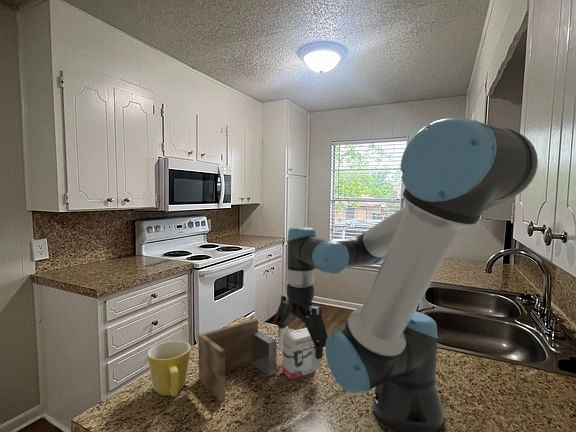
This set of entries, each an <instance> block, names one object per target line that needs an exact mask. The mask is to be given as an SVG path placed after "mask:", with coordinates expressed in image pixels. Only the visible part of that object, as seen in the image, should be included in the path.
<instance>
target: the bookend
mask: <svg viewBox="0 0 576 432" xmlns="http://www.w3.org/2000/svg"><path fill="white" fill-rule="evenodd" d="M277 344H278V343H277V340H275V339H273V338H272V337H270V336H268V335H267V334H265V333H263V332H262V331H258V332H257V333H254V334H253V352H252V362H251V363H252V364H251V365H252V366H254V367H255V368H257V370H259V371H261V372H262V373H263V374H265V376H267V377H271V376H273V375H276V374H277V355H278V354H277V353H278V352H277V347H278V346H277Z"/></svg>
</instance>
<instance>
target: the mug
mask: <svg viewBox="0 0 576 432" xmlns="http://www.w3.org/2000/svg"><path fill="white" fill-rule="evenodd" d="M191 348H192V347H191V344H190V343H188V342H186V341H182V340H170V341H165V342H161V343H158V344H156V345H154V346H152V347H151V348H150V349H148V351H147V361H148V366H149V372H150V378H151V383H152V388H153V390H154V391H155V392H156V393H157V394H159V395H160V396H165V397H167V396H168V397H169V396H171V397H177V396H178V395H179V392H180V391H181V390H182V388H184V386H185V385H186V383H187V379H188V378H187V377H188V376H187V375H188V371H189V370H188V369H189V362H190V361H189V360H190V354H191Z"/></svg>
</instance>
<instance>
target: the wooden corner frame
mask: <svg viewBox="0 0 576 432" xmlns="http://www.w3.org/2000/svg"><path fill="white" fill-rule="evenodd" d="M257 332H259V320H258V319H257V318H255V319H251V320H247V321H245V322H240V323H236V324H233V325H230V326H226V327H222V328H218V329H215V330H212V331H208V332H205V333H200V334H198V380H199V381H200V383H202V385H203V386H204V387H205V388H206V389H207V390H208V391H209V392H210V393H211V394H212V395H213V396H214V397H215V398H216V399H217V400H218V402H220V403H221V402H224V401H226V373H227V372H229V371H232V370H234V369H238V368H241V367H242V366H246V365H249V364H250V363H252V352H253V334H254V333H257Z"/></svg>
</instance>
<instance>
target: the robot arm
mask: <svg viewBox="0 0 576 432" xmlns="http://www.w3.org/2000/svg"><path fill="white" fill-rule="evenodd" d="M401 156H402V157H401V159H400V171H401V172H402V176H401V180H402V184H403V186H404V190H403V192H402V198H403V201H404V202H405V205H404V206H403V207H401V208H400V209H398V210H397V211H395V212H393V213H392V214H391V215H388V217H386V218H384V219H383V220H382V221H381V220H380V222H378V223H376V224H375V225H374V226H372V227H371V228H368V230H366V231H365V232H363V233H361V234H359V235H358V236H355V237H342V238H341V237H340V238H338V237H337V238H320V237H317V235H316V234H317V233H316V229H315V228H314V227H309V226H294V227H290V228H289V229H288V233H287V241H286V243H287V244H286V246H287V249H286V251H287V254H286V255H287V256H286V257H287V262H286V263H287V267H286V283H287V285H286V294H283V295H281V296H280V303H279V306H278V309H277V310H276V314H275V316H274V319H273V322H274V323H273V324H276V325H277V327H278V339H279V340H278V341H279V342H278V346H279V347H278V350H279V351H280V352H283V334H285V333H288V332H289V326H288V323H290V321H291V320H292V318H293V317H297V318H298V319H299V320H301V322H302V323H304V325H305V328H307V329H308V332H309V334H310V336H311V338H312V341H313V343H314V345H313V346H312V369H311V370H312V371H313V372H312V373H314V372H316V371H317V370H319V369H322V358H323V357H324V348H325V356H326V361H327V366H328V367H329V370H330V372H331V375H332V376H333V378H334V380H335V381H336V382H337V384H338V385H339V386H340V387H341V389H343V390H344V391H346V392H348V393H350V394H353V395H356V394H360V393H362V392H363V393H364V392H369V391H370V390H371V389H374V388H375V389H374V391H373V394H372V409H373V412H374V413H375V415H376V417H378V418H379V420H380V421H382V422H383V423H384V424H385V425H387V426H388V427H390V428H392V429H394V430H397V431H399V432H438V431H439V430H440V429H441V428H442V427H443V423H444V408H443V405H442V402H441V399H440V395H439V392H438V389H437V388H438V387H437V385H436V380H437V379H436V374H437V350H438V349H437V348H438V339H439V336H438V326H437V325H438V324H437V323H436V321H435V320H434V319H433V318H432V317H431V316H429V315H427V314H424V313H422V312H419V311H417V309H418V306H419V305H420V303H421V301H422V299H423V297H424V296H425V293H427V290H428V289H429V287H430V286H431V284H432V281H433V280H434V278H435V276H436V274H437V272H438V270H439V269H440V268H441V265H442V263H443V261H444V260H445V258H446V256H447V254H448V253H449V251H450V249H451V248H452V246H453V244H454V241H455V240H456V238H457V236H458V234H459V232H460V230H463V229H465V228H469V227H473V226H475V225H476V224H477V223H478V221H479V220H480V218H481V216H482V215H483V213H484V212H485V211H488V210H489V209H491V208H493V207H495V206H497V205H500V204H502V203H504V202H506V201H509V200H510V199H512V198H515V197H517V196H518V195H519V194H521V193H523V191H525V190H526V189H527V188H528V187H529V185H530V184H531V183H532V181H534V178H535V176H536V173H537V171H538V168H539V167H538V165H539V159H538V153H537V151H536V148H535V146H534V145H533V143H532V142H531V140H529V139H528V138H527V137H526V136H525V135H523V134H522V133H520V132H518V131H516V130H513V129H510V128H506V127H499V126H495V125H492V124H487V123H483V122H480V121H478V120H474V119H468V118H455V117H454V118H453V117H452V118H450V117H449V118H443V119H439V120H436V121H433V122H431V123H430V124H429V125H426V126H424V127H423V128H421V129H420V130H418V132H416V134H415V135H413V137H412V138H411V139H410V140H409V142H408V144H407V145H406V147H405V148H404V151H403V154H402V155H401ZM379 263H381V264H380V266H379V269H378V271H377V273H376V275H375V278H374V280H373V281H372V284H371V287H370V288H369V291H368V293H367V295H366V298H365V300H364V302H363V304H362V307H360V308H357V309H355V310H353V311H351V313H350V315H349V316H348V318H347V321H346V323H345V325H344V327H343V328H342V329H341V330H335V331H334V332H332V333H330V334H329V335H328V333H327V330H326V326H325V322H324V320H323V316H322V307H321V306H320V305H317V306H313V303H312V302H313V299H314V298H315V285H314V283H315V269H317V270H319V271H320V272H323V273H329V274H333V275H334V274H335V275H337V274H340V273H341V272H342V271H344V270H345V269H346V268H352V267H360V266H372V265H375V264H379Z"/></svg>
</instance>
